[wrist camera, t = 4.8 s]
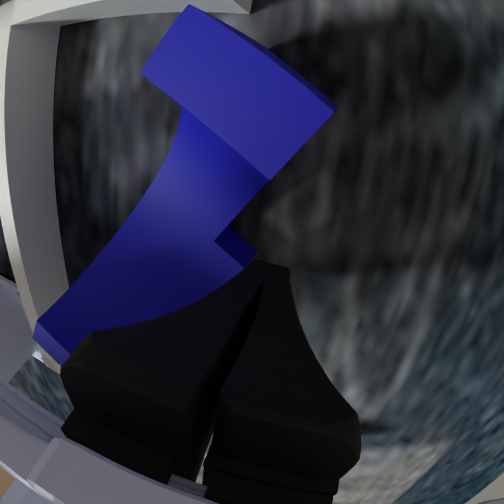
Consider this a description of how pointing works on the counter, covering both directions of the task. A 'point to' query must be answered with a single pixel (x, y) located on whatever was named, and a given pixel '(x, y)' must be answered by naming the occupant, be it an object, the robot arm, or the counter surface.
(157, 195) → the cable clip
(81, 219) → the counter surface
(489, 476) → the counter surface
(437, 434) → the counter surface
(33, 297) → the bracket
